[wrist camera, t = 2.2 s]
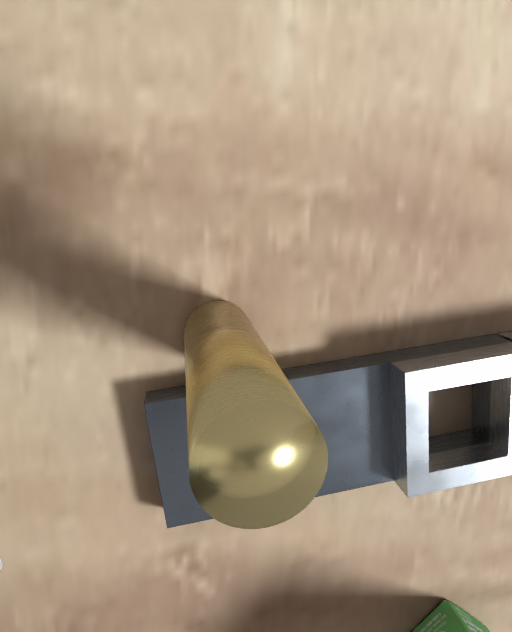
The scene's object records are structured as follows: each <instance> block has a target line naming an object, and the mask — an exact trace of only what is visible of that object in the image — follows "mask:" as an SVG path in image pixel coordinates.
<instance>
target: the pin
mask: <svg viewBox="0 0 512 632" xmlns="http://www.w3.org/2000/svg"><path fill="white" fill-rule="evenodd" d="M184 347H185V376H186V405H187V434H188V462H189V480H190V485H191V489H192V492H193V494H194V497H195V499H196V500H197V502H198V503H199V505H200V506H201V507H202V508H203V510H204V511H205V512H206V513H208V514H209V515H210V516H211V517H213V518H214V519H216V520H217V521H219V522H221V523H224V524H226V525H229V526H232V527H237V528H243V529H259V528H266V527H270V526H274V525H277V524H279V523H282V522H284V521H286V520H288V519H290V518H292V517H294V516H295V515H297V514H298V513H299V512H301V511H302V510H303V509H304V508H305V507H307V505H308V504H309V503H310V502H311V501H312V500H313V499H314V497H315V496H316V495H317V493H318V492H319V490H320V488H321V486H322V484H323V482H324V479H325V476H326V472H327V467H328V450H327V445H326V442H325V439H324V436H323V434H322V432H321V430H320V429H319V427H318V426H317V424H316V423H315V421H314V420H313V418H312V417H311V415H310V413H309V412H308V410H307V409H306V407H305V406H304V404H303V403H302V401H301V399H300V398H299V396H298V395H297V393H296V392H295V390H294V389H293V387H292V386H291V384H290V382H289V381H288V379H287V378H286V376H285V375H284V373H283V372H282V370H281V368H280V367H279V365H278V364H277V362H276V361H275V359H274V358H273V356H272V354H271V353H270V351H269V350H268V348H267V347H266V345H265V344H264V342H263V341H262V339H261V337H260V336H259V334H258V333H257V331H256V330H255V328H254V327H253V325H252V323H251V322H250V320H249V319H248V317H247V316H246V314H245V313H244V312H243V311H242V310H241V309H240V308H239V307H238V306H236V305H235V304H232V303H230V302H227V301H219V300H217V301H210V302H207V303H204V304H202V305H200V306H199V307H197V308H196V309H195V310H194V311H193V312H192V313H191V314H190V316H189V317H188V319H187V321H186V324H185V329H184Z"/></svg>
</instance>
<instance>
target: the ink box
mask: <svg viewBox="0 0 512 632" xmlns="http://www.w3.org/2000/svg"><path fill="white" fill-rule="evenodd" d="M412 632H490V631H489V630H488V628H487V627H486V626H485V625H483V624H482V623H481V622H479V621H478V620H477V619H475V618H474V617H473V616H471V615H470V614H468V613H467V612H466V611H464V610H463V609H461V608H460V607H458V606H457V605H455V604H453V603H451V602H450V601H447V600H443V601H442V602H441V603H440V604H439V605H438V606H437V607H436V608H435V609H434V610H433V611H432V612H431V613H430V614H429V615H428V616H427V617H426V618H425V619H424V620H423V621H422V622H421V623H420V624H419V625H418V626H417V627H416V628H415V629H414V630H413V631H412Z"/></svg>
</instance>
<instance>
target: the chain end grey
mask: <svg viewBox="0 0 512 632" xmlns="http://www.w3.org/2000/svg"><path fill="white" fill-rule="evenodd" d="M498 336H499V337H501V338H504V339H506V340H509V341H511V342H509V343H503V344H497V345H491V346H485V347H479V348H473V349H468V350H462V351H456V352H450V353H444V354H438V355H432V356H427V357H421V358H415V359H409V360H403V361H397V362H391V363H390V365H391V398H392V430H393V463H394V481H395V482H396V483H397V485H398V486H399V487H400V489H401V490H402V491H403V492H404V494H405V495H406V496H407V497H412V496H417V495H422V494H426V493H431V492H435V491H440V490H444V489H449V488H454V487H458V486H463V485H467V484H472V483H477V482H481V481H486V480H490V479H495V478H500V477H504V476H509V475H512V331H510V332H504V333H498ZM490 380H491V398H490V429H489V442H486V443H481V444H476V445H471V446H467V447H462V448H457V449H452V450H447V451H442V452H437V453H432V454H429V434H428V392H429V391H435V390H440V389H446V388H451V387H457V386H462V385H468V384H473V383H479V382H484V381H490Z"/></svg>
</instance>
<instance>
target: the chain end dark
mask: <svg viewBox="0 0 512 632" xmlns="http://www.w3.org/2000/svg"><path fill="white" fill-rule="evenodd" d="M509 342H511V341H509V340H506V339H504V338H501V337H499V336H496V335H493V334H492V335H486V336H480V337H474V338H468V339H462V340H456V341H450V342H444V343H438V344H432V345H426V346H420V347H414V348H408V349H402V350H396V351H390V352H384V353H378V354H372V355H366V356H360V357H354V358H348V359H342V360H336V361H330V362H324V363H318V364H312V365H306V366H300V367H294V368H288V369H282V372H283V373H284V375H285V376H286V378H287V379H288V381H289V382H290V384H291V386H292V387H293V389H294V390H295V392H296V393H297V395H298V396H299V398H300V399H301V401H302V403H303V404H304V406H305V407H306V409H307V410H308V412H309V413H310V415H311V417H312V418H313V420H314V421H315V423H316V424H317V426H318V427H319V429H320V430H321V432H322V434H323V436H324V439H325V442H326V445H327V450H328V467H327V472H326V476H325V479H324V482H323V484H322V486H321V488H320V490H319V492H318V493H317V495H316V496H315V497H318V496H323V495H327V494H332V493H337V492H341V491H346V490H351V489H356V488H360V487H365V486H370V485H375V484H379V483H384V482H389V481H394V463H393V430H392V398H391V365H390V363H391V362H397V361H403V360H409V359H415V358H421V357H427V356H432V355H438V354H444V353H450V352H456V351H462V350H468V349H473V348H479V347H485V346H491V345H497V344H503V343H509ZM490 398H491V380H490V381H484V382H479V383H473V401H472V429H470V430H465V431H460V432H455V433H450V434H445V435H440V436H435V437H430V438H429V454H432V453H437V452H442V451H447V450H452V449H457V448H462V447H467V446H471V445H476V444H481V443H486V442H489V429H490ZM144 407H145V413H146V418H147V423H148V429H149V434H150V439H151V444H152V450H153V455H154V460H155V466H156V471H157V476H158V482H159V487H160V492H161V497H162V503H163V508H164V513H165V519H166V524H167V528H171V527H176V526H180V525H185V524H190V523H195V522H199V521H204V520H209V519H214V518H213V517H211V516H210V515H209V514H208V513H206V512H205V511H204V510H203V508H202V507H201V506H200V505H199V503H198V502H197V500H196V499H195V497H194V494H193V492H192V489H191V485H190V480H189V462H188V434H187V405H186V386H180V387H174V388H168V389H162V390H156V391H150V392H146V397H145V402H144Z"/></svg>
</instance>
